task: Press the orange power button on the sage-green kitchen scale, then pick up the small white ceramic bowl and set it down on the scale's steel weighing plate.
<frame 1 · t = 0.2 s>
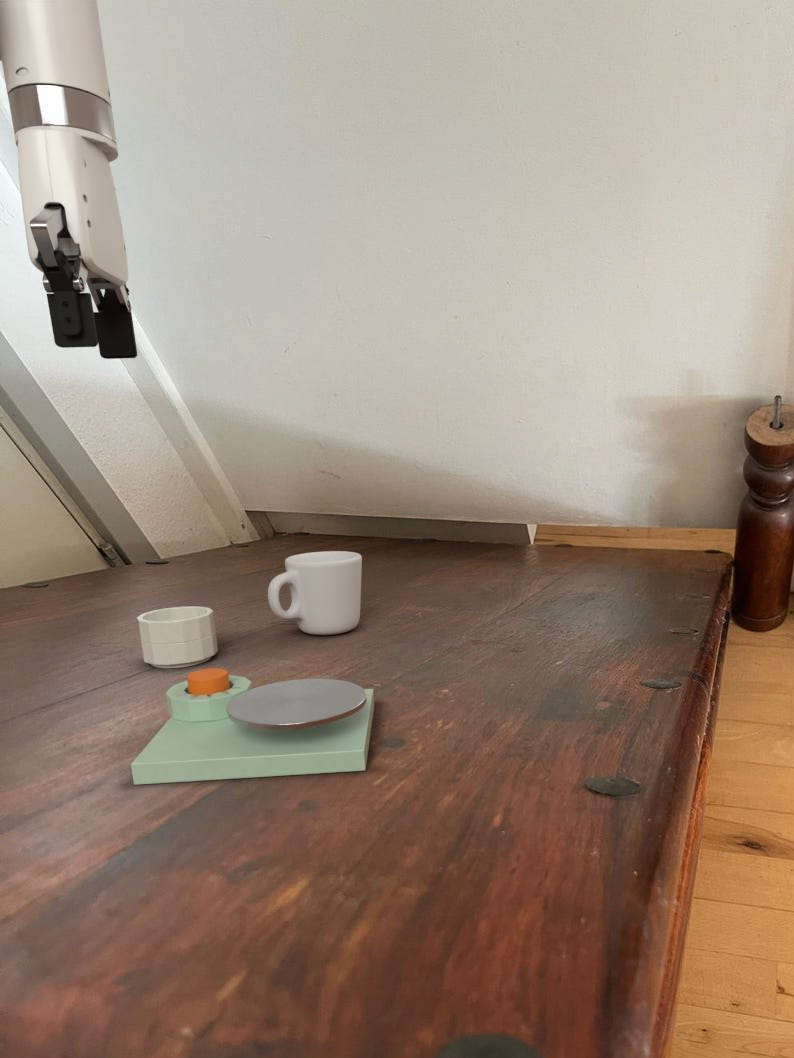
hand: (99, 352, 67), 28 cm above the table, tool pointing down, fingers open, 9 cm apart
bowl: (181, 659, 73), on the table
scale: (268, 740, 53), on the table
platter: (298, 705, 51), resting on scale
cup: (318, 634, 82), on the table
power button: (208, 682, 55), point 3 cm above the table, slide at 0.1 cm
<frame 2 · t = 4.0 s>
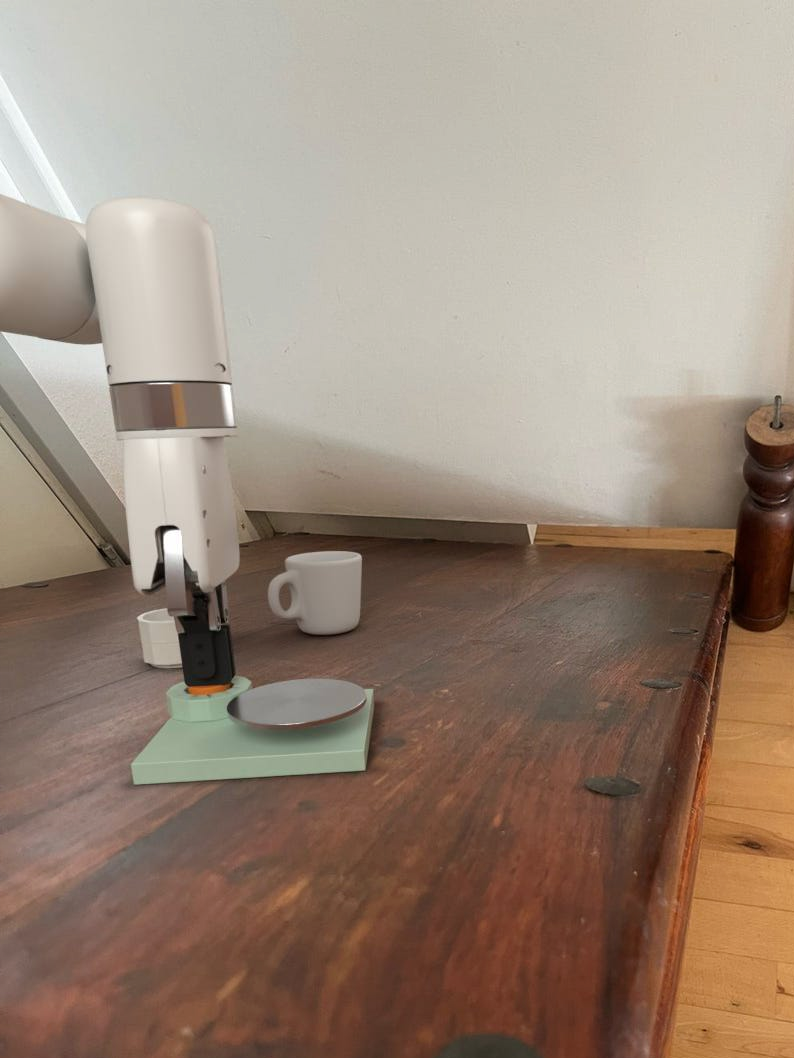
hand: (211, 681, 55), 3 cm above the table, tool pointing down, fingers closed
power button: (209, 691, 55), point 3 cm above the table, slide at -0.5 cm, touching gripper
everything else where it was.
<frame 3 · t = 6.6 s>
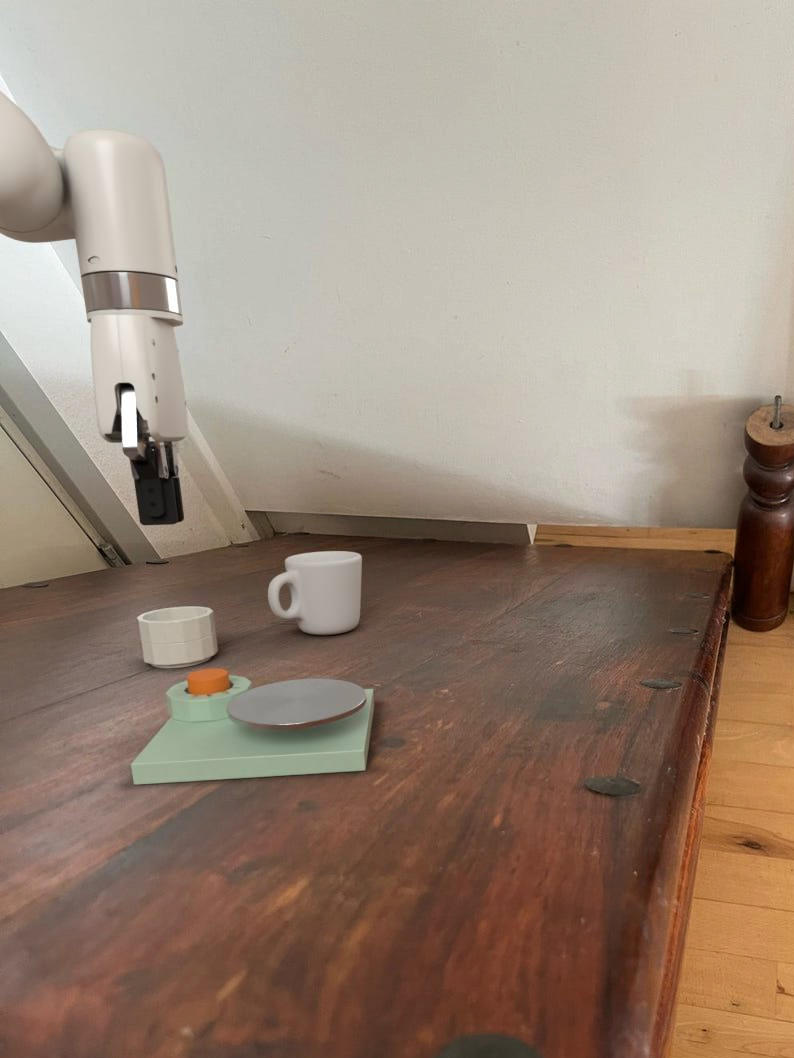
hand: (162, 522, 70), 13 cm above the table, tool pointing down, fingers closed
power button: (208, 683, 55), point 3 cm above the table, slide at 0.1 cm
everything else where it was.
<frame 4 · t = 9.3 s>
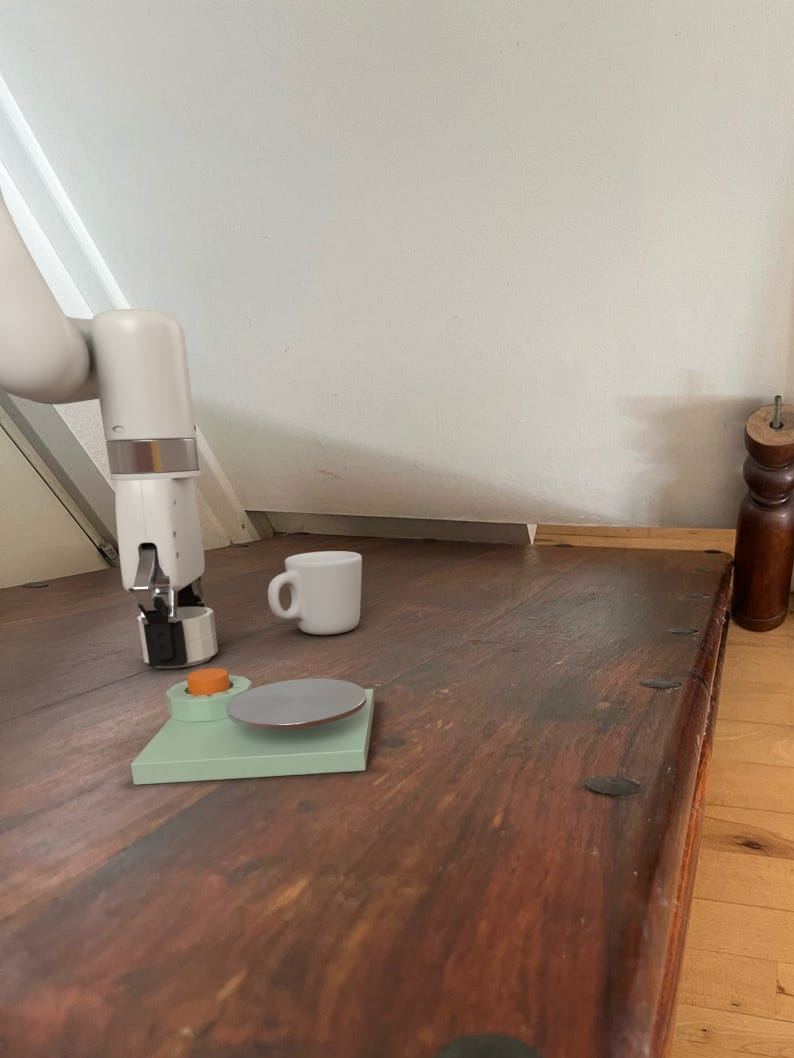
hand: (180, 652, 73), 1 cm above the table, tool pointing down, fingers closed on bowl, 6 cm apart
bowl: (181, 660, 73), on the table, touching gripper
everything else where it was.
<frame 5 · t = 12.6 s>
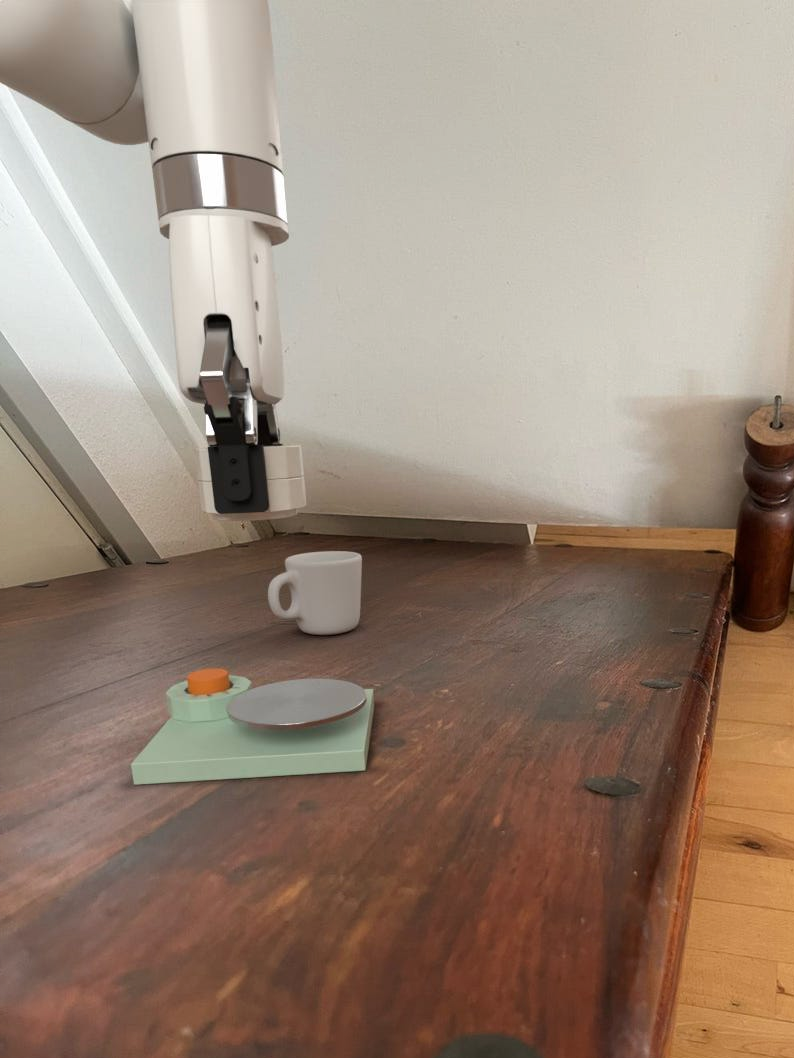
hand: (254, 504, 51), 16 cm above the table, tool pointing down, fingers closed on bowl, 6 cm apart
bowl: (255, 516, 51), point 15 cm above the table, touching gripper
everything else where it was.
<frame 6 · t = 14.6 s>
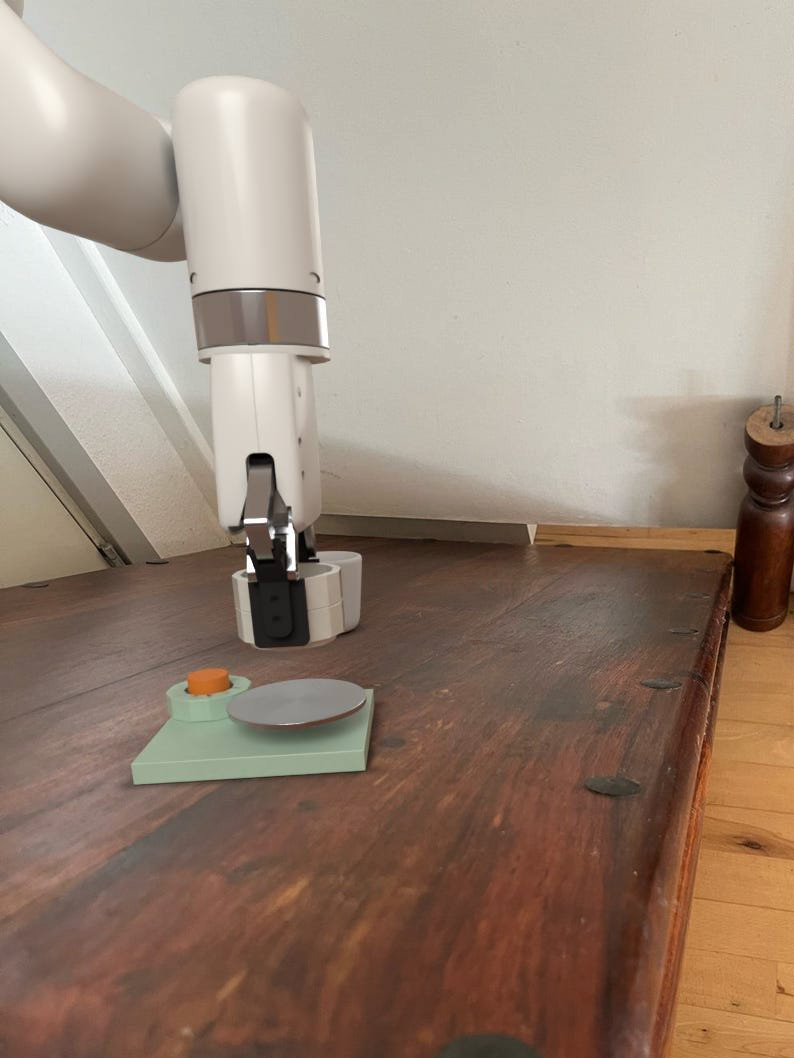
hand: (292, 628, 50), 8 cm above the table, tool pointing down, fingers closed on bowl, 6 cm apart
bowl: (293, 639, 50), point 7 cm above the table, touching gripper
everything else where it was.
when the fingers open (4 cm above the table, at t = 16.1 s): bowl stays where it is, resting on platter.
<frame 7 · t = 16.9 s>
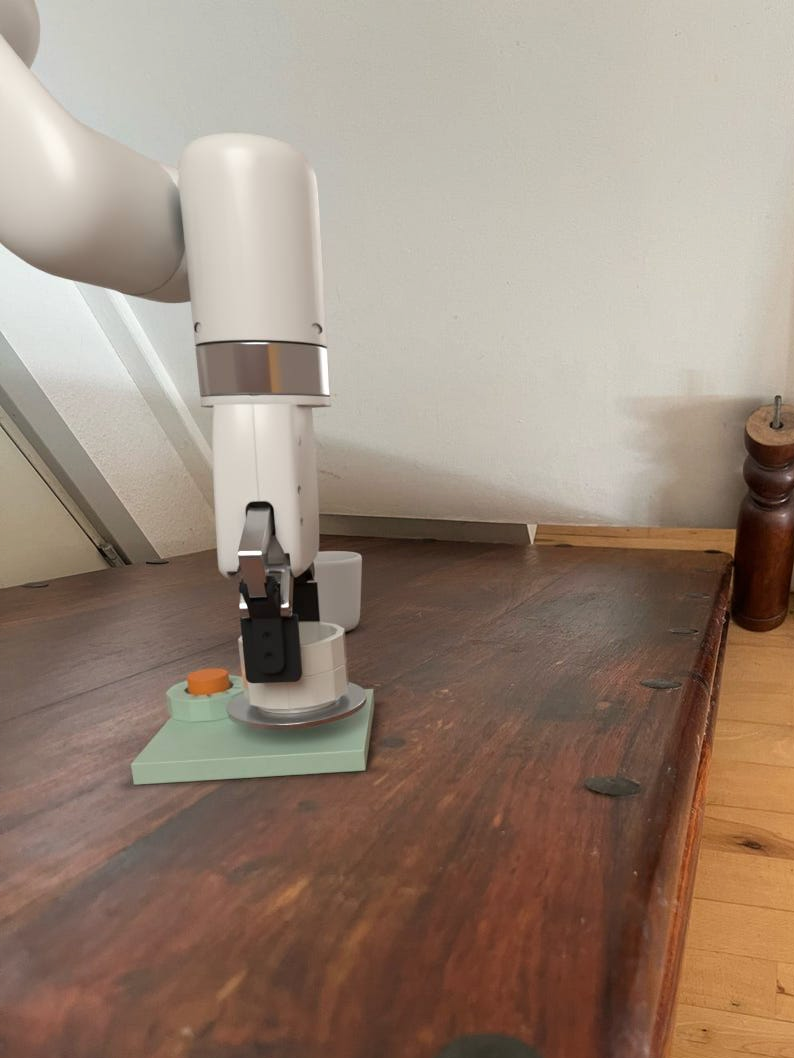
hand: (287, 657, 50), 6 cm above the table, tool pointing down, fingers open, 9 cm apart
bowl: (298, 699, 51), point 3 cm above the table, touching platter
everything else where it was.
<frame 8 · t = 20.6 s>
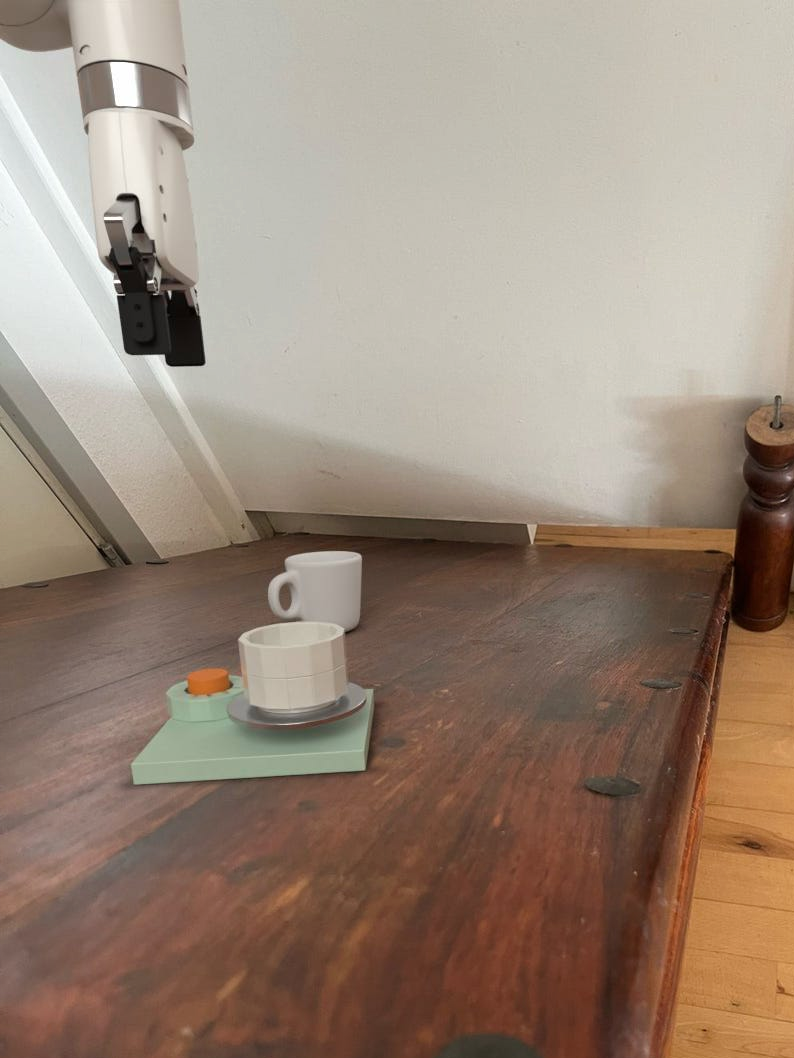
hand: (168, 360, 61), 26 cm above the table, tool pointing down, fingers open, 9 cm apart
nothing on the table moved.
at the end: power button pushed in 0.9 cm at the most during the clip, back to where it started at the end; bowl 0.1 cm off-centre on the platter, point 0.4 cm above the platter's base; bowl tilted 0° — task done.
